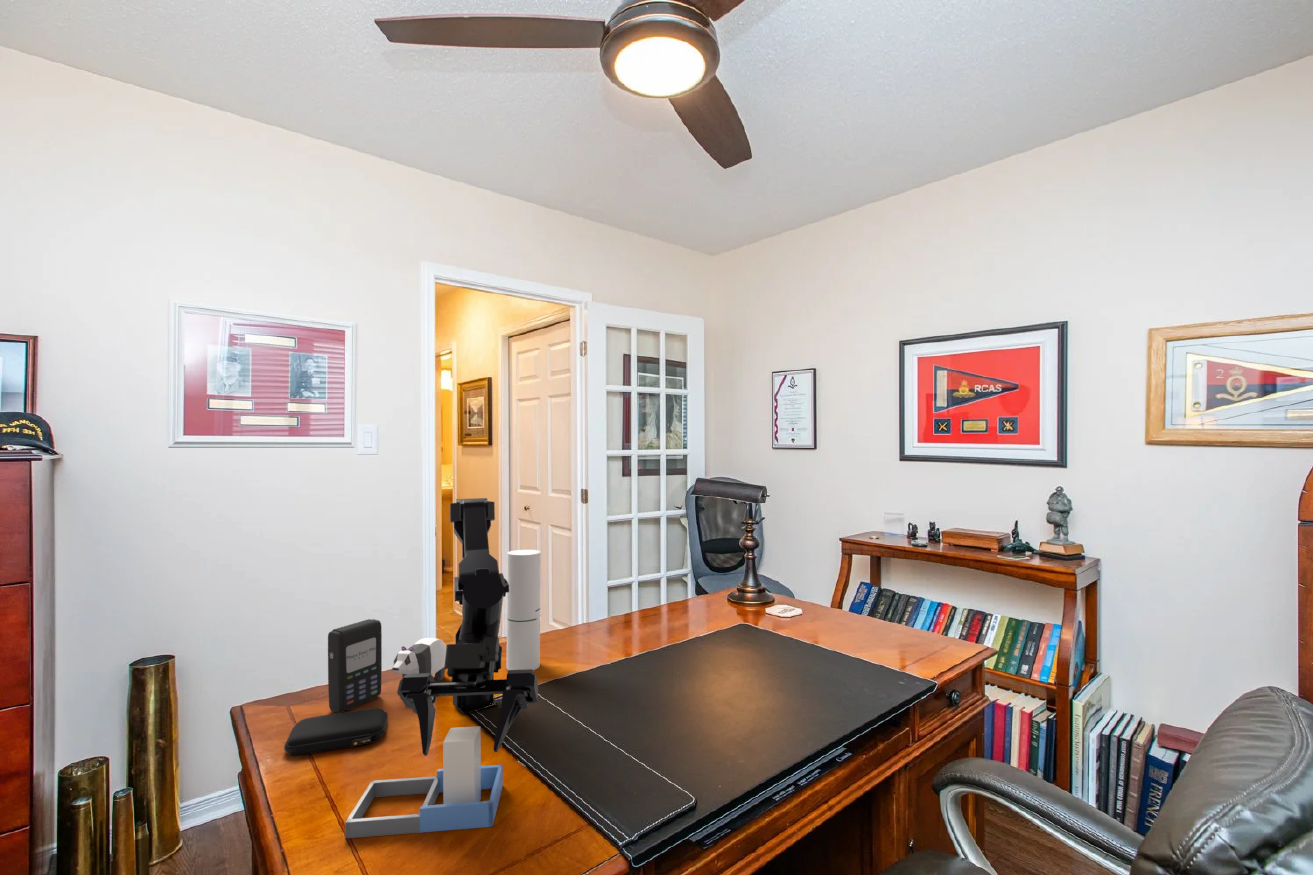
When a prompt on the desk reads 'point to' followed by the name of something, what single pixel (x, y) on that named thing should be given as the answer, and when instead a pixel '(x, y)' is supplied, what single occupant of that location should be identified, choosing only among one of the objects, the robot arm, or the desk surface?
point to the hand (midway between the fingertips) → (460, 752)
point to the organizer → (425, 807)
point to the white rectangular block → (462, 765)
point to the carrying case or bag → (336, 731)
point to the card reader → (354, 664)
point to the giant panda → (422, 658)
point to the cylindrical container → (523, 609)
